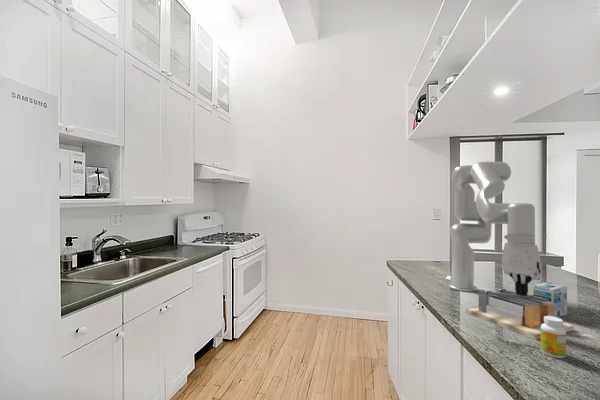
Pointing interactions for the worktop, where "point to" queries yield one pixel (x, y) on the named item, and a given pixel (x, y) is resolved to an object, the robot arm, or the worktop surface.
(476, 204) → the robot arm
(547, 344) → the supplement bottle
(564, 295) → the light bulb box
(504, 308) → the grey and orange fixture
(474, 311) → the board
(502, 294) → the strap
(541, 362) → the worktop surface
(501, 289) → the strap
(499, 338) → the worktop surface
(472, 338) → the worktop surface
